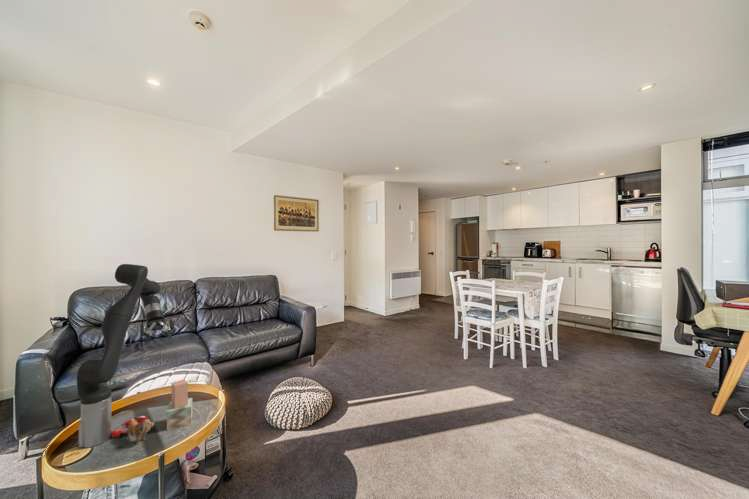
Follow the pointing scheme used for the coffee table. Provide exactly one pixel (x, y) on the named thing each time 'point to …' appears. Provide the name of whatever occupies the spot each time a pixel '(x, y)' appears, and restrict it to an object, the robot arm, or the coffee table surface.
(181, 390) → the terracotta brick
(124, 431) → the race car
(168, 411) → the sage green base block
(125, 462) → the coffee table surface
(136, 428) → the lion figurine
